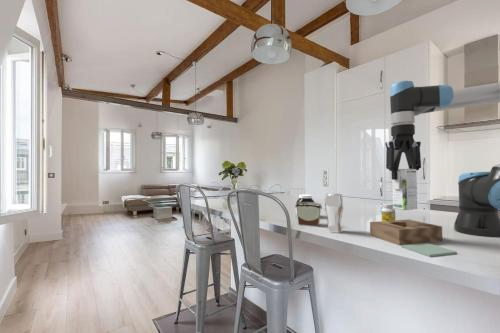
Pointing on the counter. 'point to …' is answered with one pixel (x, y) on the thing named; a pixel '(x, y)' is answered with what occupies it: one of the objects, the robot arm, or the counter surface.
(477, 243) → the counter surface
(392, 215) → the supplement bottle
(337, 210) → the beer glass
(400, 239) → the walnut block
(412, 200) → the syrup box
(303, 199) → the spread jar
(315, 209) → the food container
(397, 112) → the robot arm
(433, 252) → the sage rubber mat
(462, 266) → the counter surface
